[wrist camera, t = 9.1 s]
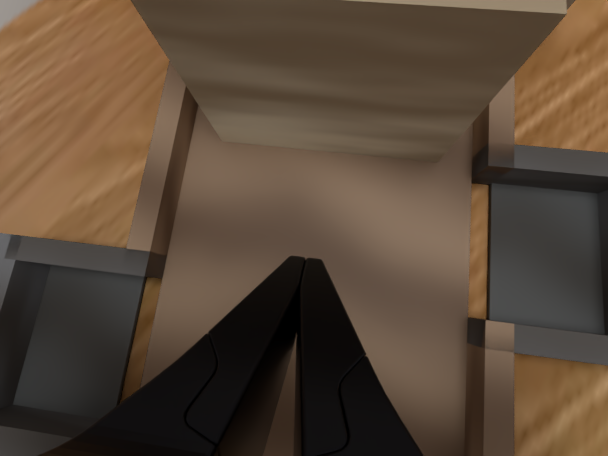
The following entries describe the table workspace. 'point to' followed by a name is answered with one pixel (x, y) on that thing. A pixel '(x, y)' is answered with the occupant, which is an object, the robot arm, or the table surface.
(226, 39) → the maple block
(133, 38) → the table surface
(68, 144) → the table surface
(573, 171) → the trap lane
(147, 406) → the robot arm
